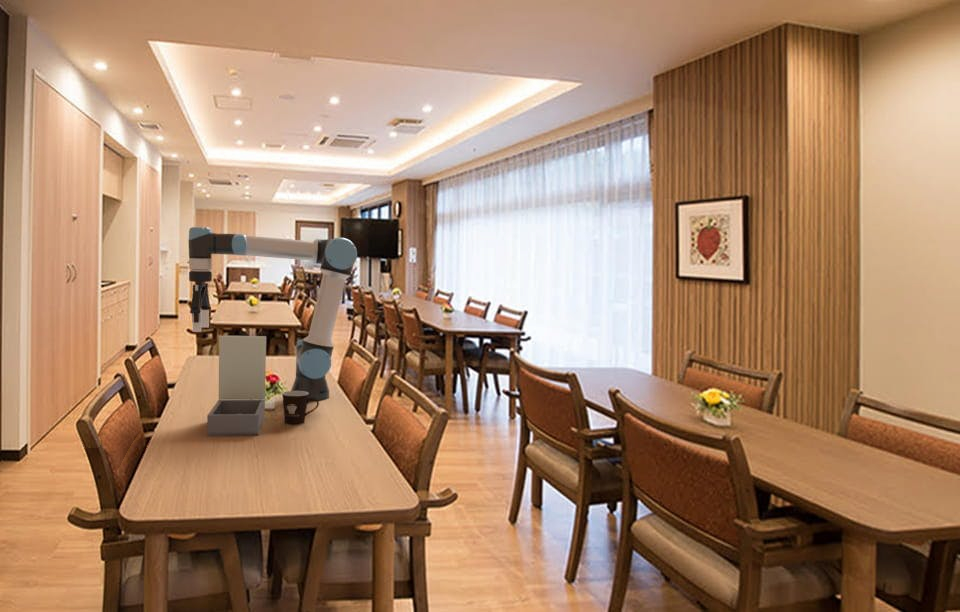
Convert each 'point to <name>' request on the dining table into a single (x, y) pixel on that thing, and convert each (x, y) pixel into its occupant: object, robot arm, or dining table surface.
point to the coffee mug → (296, 406)
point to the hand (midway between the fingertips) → (200, 329)
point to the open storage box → (236, 418)
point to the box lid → (242, 367)
